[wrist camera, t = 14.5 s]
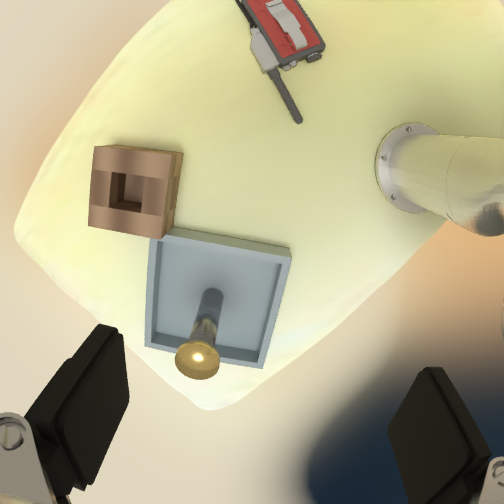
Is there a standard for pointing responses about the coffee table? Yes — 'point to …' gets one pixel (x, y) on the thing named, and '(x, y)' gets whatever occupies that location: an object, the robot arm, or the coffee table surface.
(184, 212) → the coffee table surface
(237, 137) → the coffee table surface
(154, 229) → the holder block
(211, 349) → the pin
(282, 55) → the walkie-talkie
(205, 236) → the tray
